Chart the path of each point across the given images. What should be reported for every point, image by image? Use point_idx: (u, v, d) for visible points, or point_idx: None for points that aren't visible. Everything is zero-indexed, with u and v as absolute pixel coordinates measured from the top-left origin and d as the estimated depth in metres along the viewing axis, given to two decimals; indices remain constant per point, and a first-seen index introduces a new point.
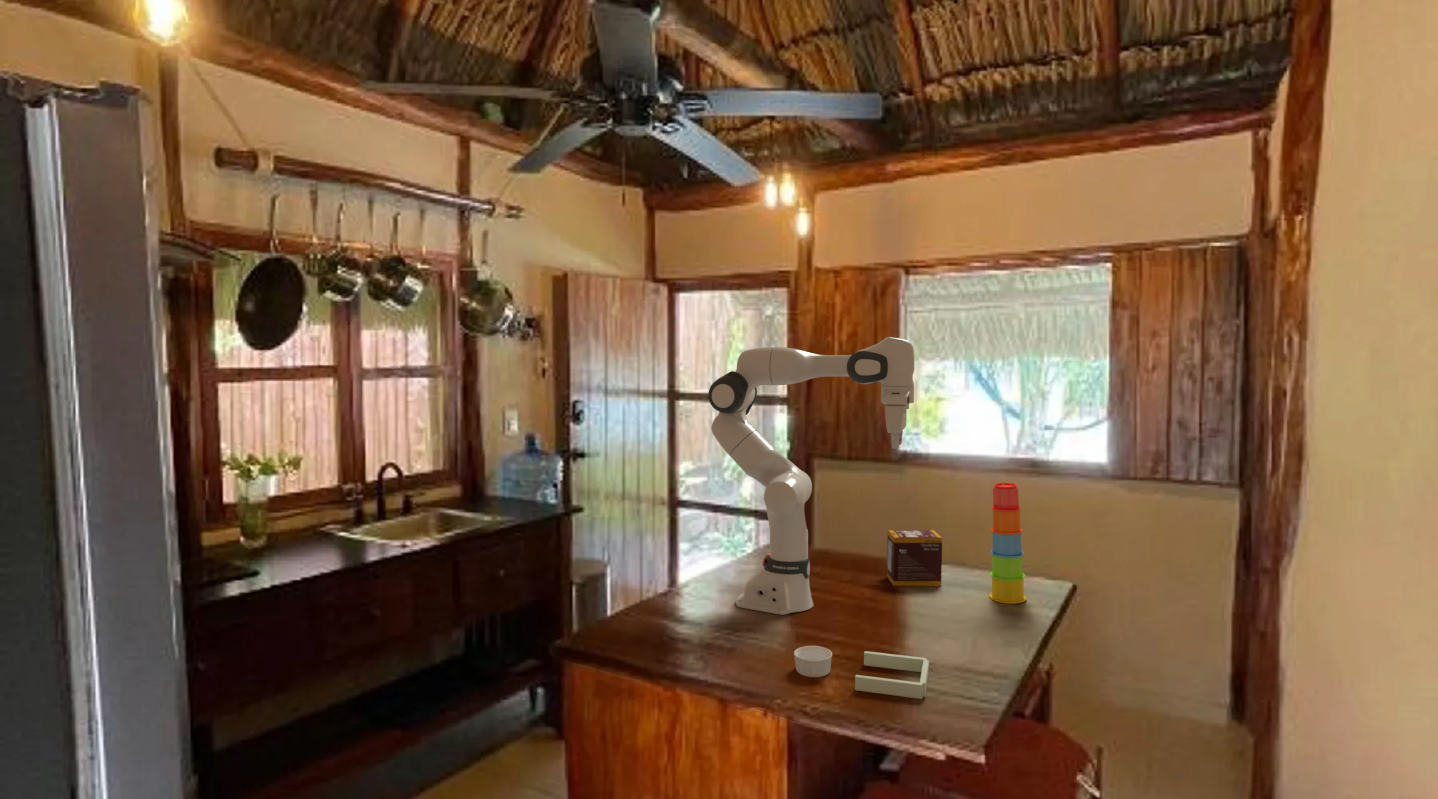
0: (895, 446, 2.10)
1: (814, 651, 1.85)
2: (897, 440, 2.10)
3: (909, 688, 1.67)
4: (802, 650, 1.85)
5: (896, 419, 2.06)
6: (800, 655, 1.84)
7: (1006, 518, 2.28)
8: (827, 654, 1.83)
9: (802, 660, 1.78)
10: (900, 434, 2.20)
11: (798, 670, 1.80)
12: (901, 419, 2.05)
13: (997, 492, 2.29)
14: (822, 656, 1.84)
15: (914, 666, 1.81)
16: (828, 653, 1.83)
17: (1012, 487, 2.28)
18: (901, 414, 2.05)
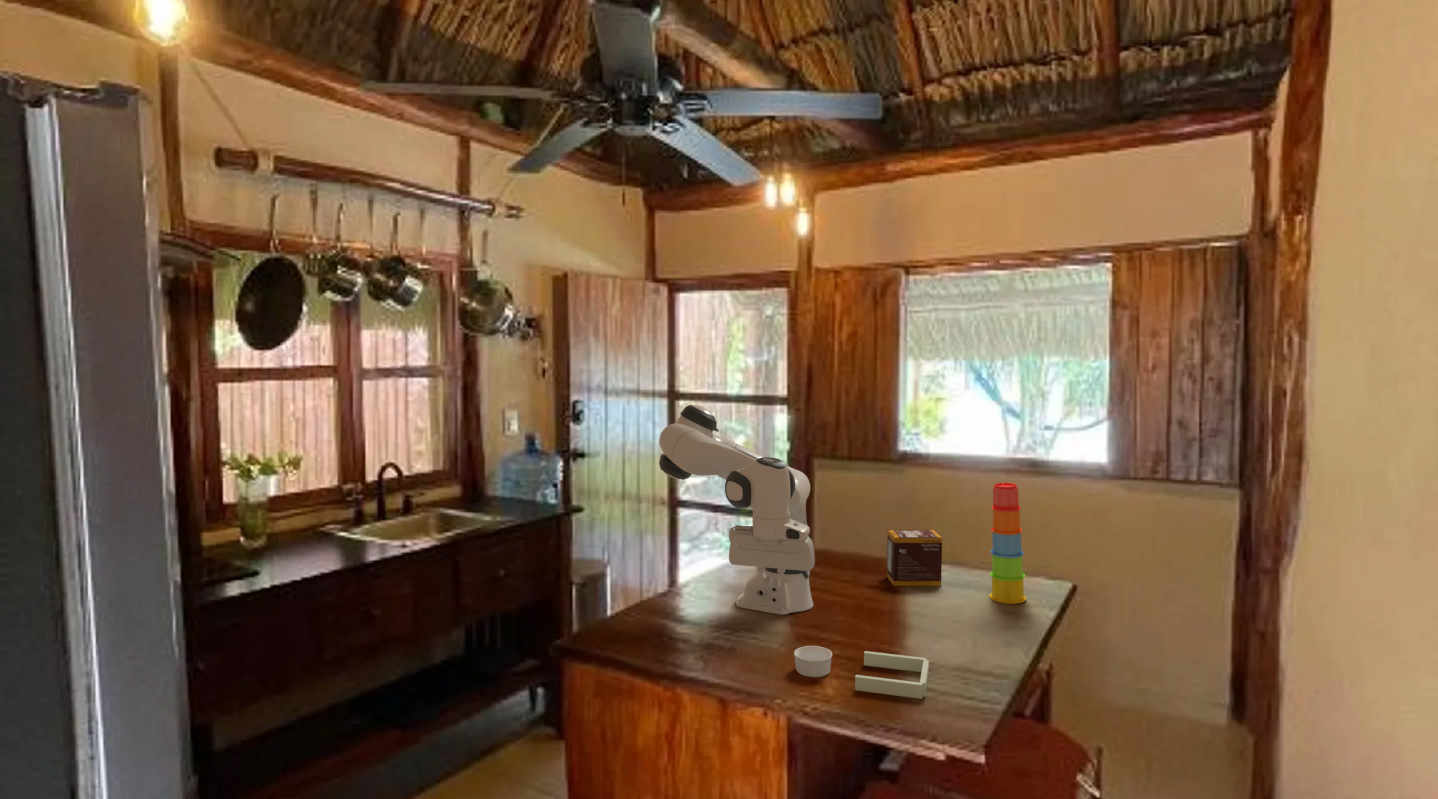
0: (779, 583, 1.83)
1: (814, 651, 1.85)
2: (782, 576, 1.83)
3: (909, 688, 1.67)
4: (802, 650, 1.85)
5: (813, 553, 1.81)
6: (800, 655, 1.84)
7: (1006, 518, 2.28)
8: (827, 654, 1.83)
9: (802, 660, 1.78)
10: (763, 572, 1.85)
11: (798, 670, 1.80)
12: None
13: (997, 492, 2.29)
14: (822, 656, 1.84)
15: (914, 666, 1.81)
16: (828, 653, 1.83)
17: (1012, 487, 2.28)
18: (813, 546, 1.82)
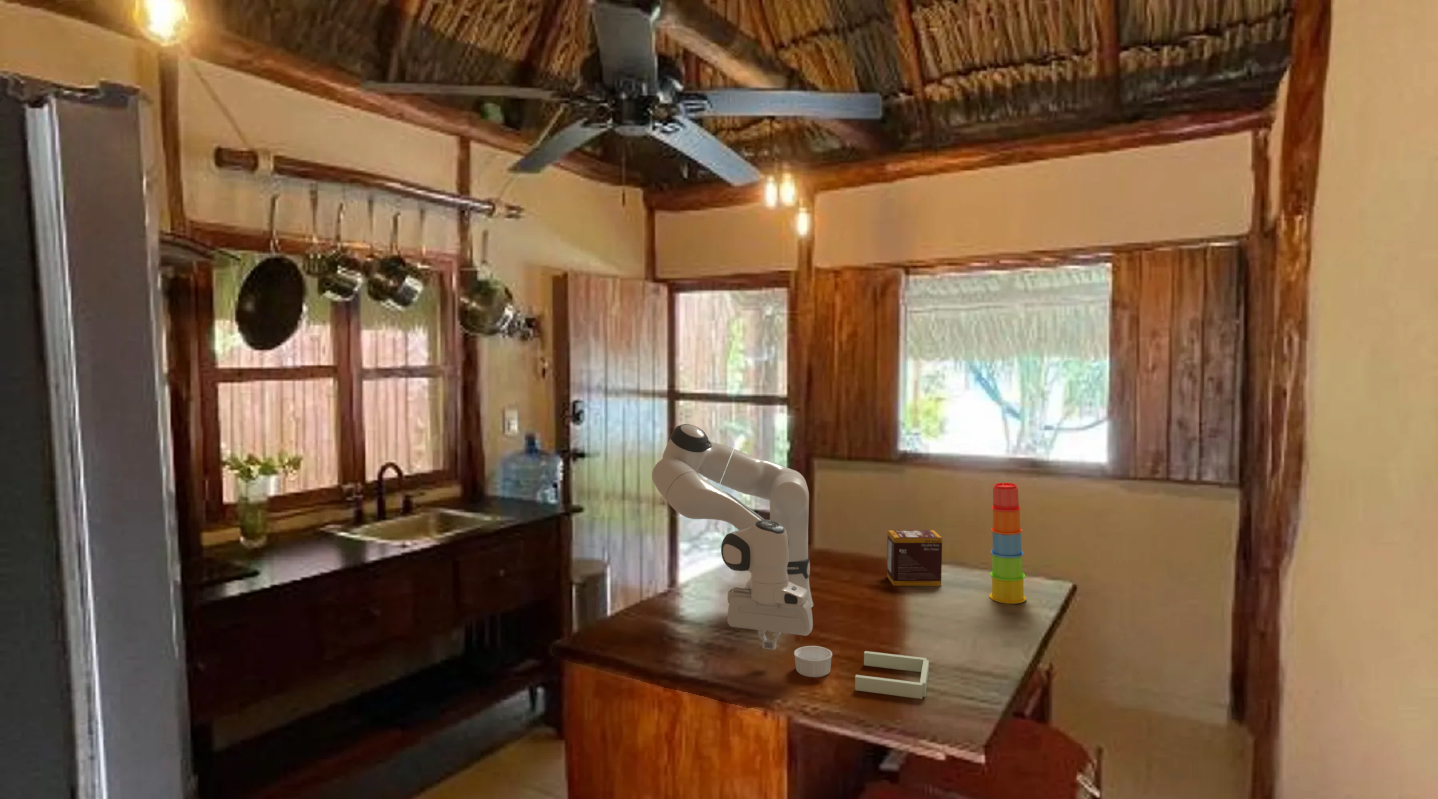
0: (775, 646, 1.84)
1: (814, 651, 1.85)
2: (777, 638, 1.84)
3: (909, 688, 1.67)
4: (802, 650, 1.85)
5: (811, 617, 1.81)
6: (800, 655, 1.84)
7: (1006, 518, 2.28)
8: (827, 654, 1.83)
9: (802, 660, 1.78)
10: (764, 635, 1.85)
11: (798, 670, 1.80)
12: None
13: (997, 492, 2.29)
14: (822, 656, 1.84)
15: (914, 666, 1.81)
16: (828, 653, 1.83)
17: (1012, 487, 2.28)
18: None
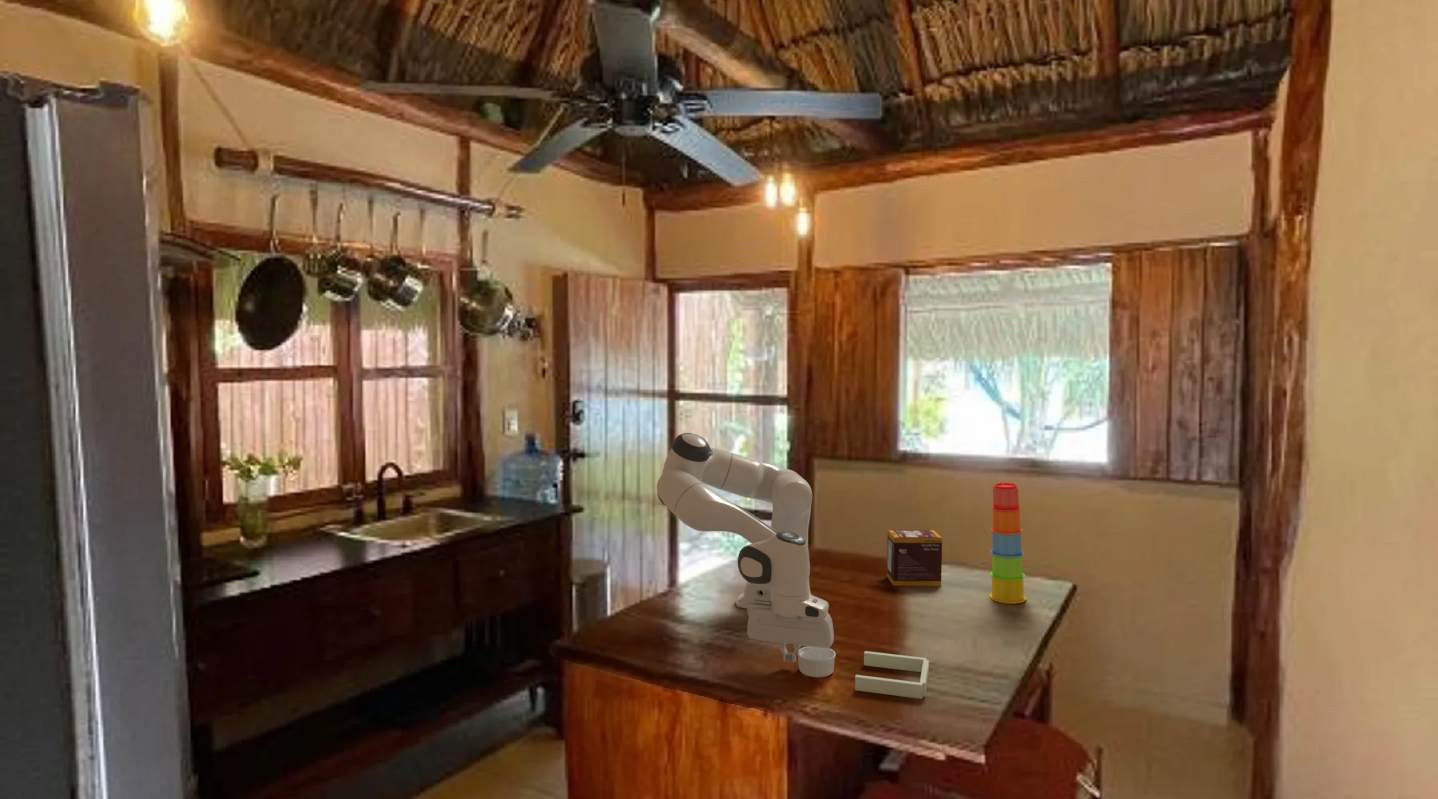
0: (795, 658, 1.83)
1: (817, 651, 1.85)
2: None
3: (909, 688, 1.67)
4: (805, 650, 1.84)
5: (832, 630, 1.80)
6: (803, 655, 1.84)
7: (1006, 518, 2.28)
8: (830, 654, 1.82)
9: (805, 660, 1.78)
10: (785, 647, 1.84)
11: (801, 670, 1.80)
12: None
13: (997, 492, 2.29)
14: (825, 656, 1.84)
15: (914, 666, 1.81)
16: (831, 653, 1.82)
17: (1012, 487, 2.28)
18: None
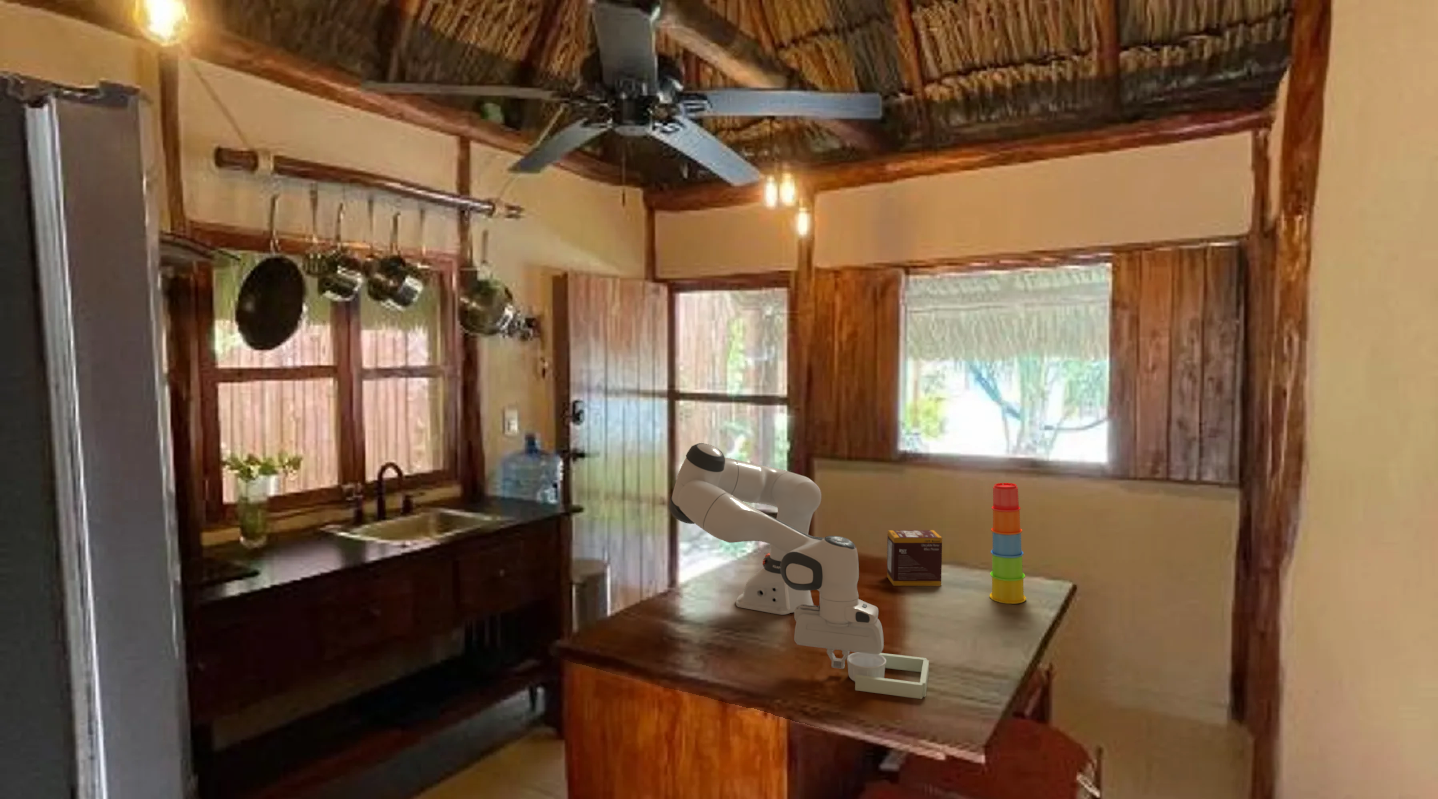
0: (844, 665, 1.79)
1: (866, 657, 1.81)
2: None
3: (909, 688, 1.67)
4: (854, 656, 1.81)
5: (882, 636, 1.76)
6: (852, 661, 1.80)
7: (1006, 518, 2.28)
8: (880, 660, 1.78)
9: (856, 666, 1.74)
10: (833, 653, 1.80)
11: (851, 677, 1.76)
12: None
13: (997, 492, 2.29)
14: (875, 662, 1.80)
15: (914, 666, 1.81)
16: (882, 659, 1.78)
17: (1012, 487, 2.28)
18: None
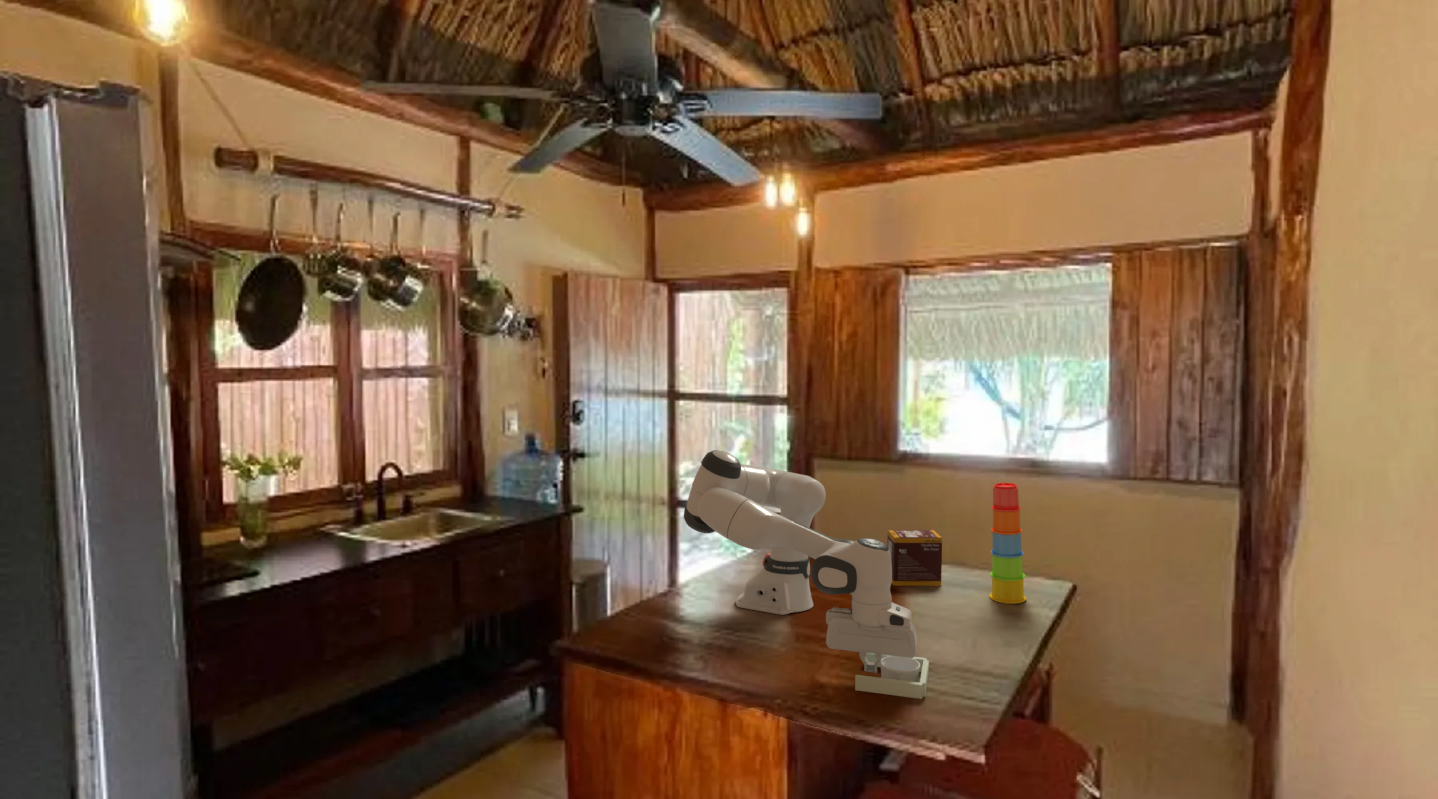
0: None
1: (899, 661, 1.79)
2: None
3: (909, 688, 1.67)
4: (887, 659, 1.78)
5: (916, 639, 1.74)
6: (886, 665, 1.78)
7: (1006, 518, 2.28)
8: (914, 664, 1.76)
9: (889, 670, 1.72)
10: (865, 657, 1.78)
11: None
12: None
13: (997, 492, 2.29)
14: (909, 666, 1.78)
15: None
16: (915, 663, 1.76)
17: (1012, 487, 2.28)
18: (915, 631, 1.76)
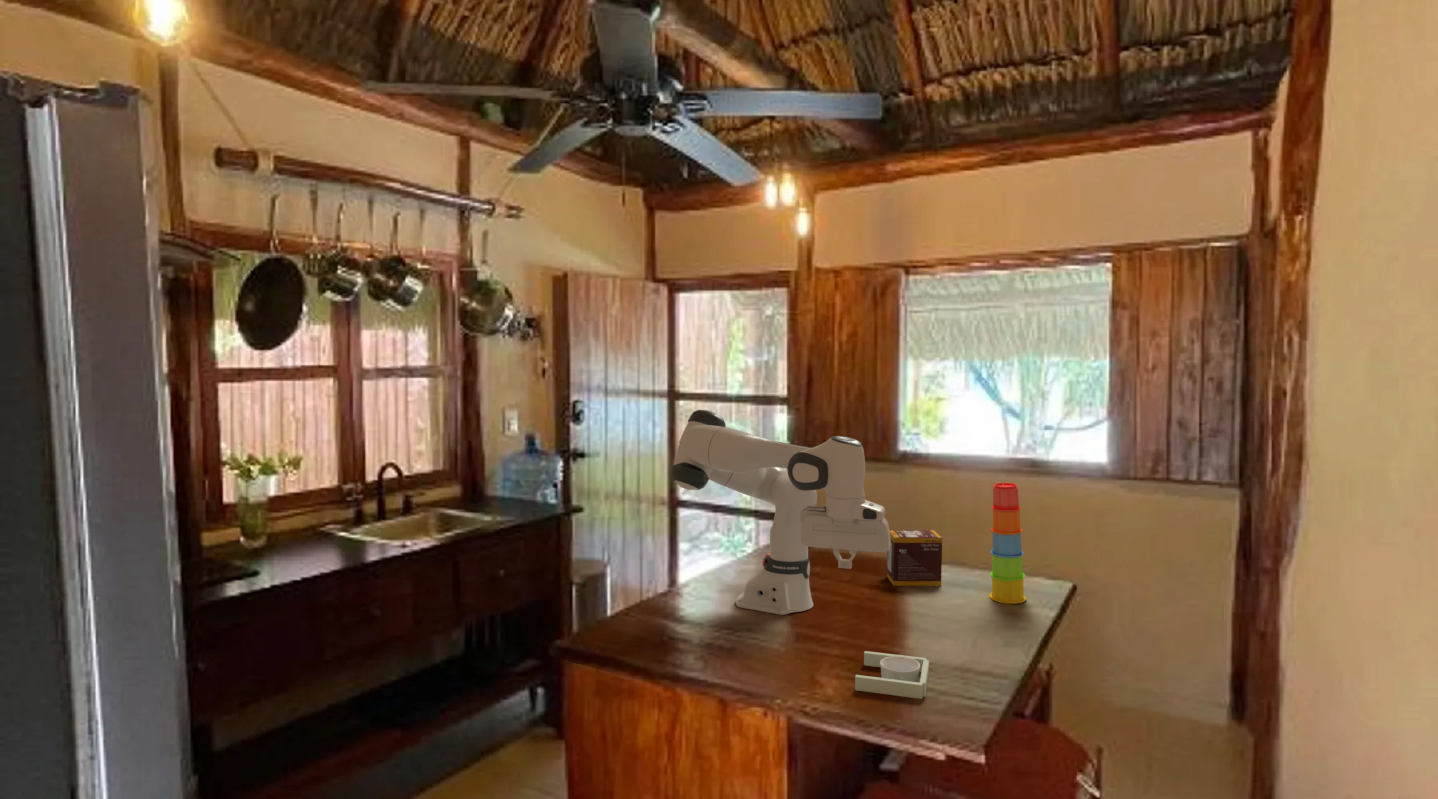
0: (851, 565, 1.79)
1: (900, 662, 1.79)
2: None
3: (909, 688, 1.67)
4: (887, 660, 1.79)
5: (889, 534, 1.76)
6: (886, 665, 1.78)
7: (1006, 518, 2.28)
8: (914, 665, 1.76)
9: (889, 671, 1.72)
10: (839, 554, 1.80)
11: None
12: None
13: (997, 492, 2.29)
14: (909, 667, 1.78)
15: None
16: (915, 664, 1.76)
17: (1012, 487, 2.28)
18: (888, 526, 1.77)
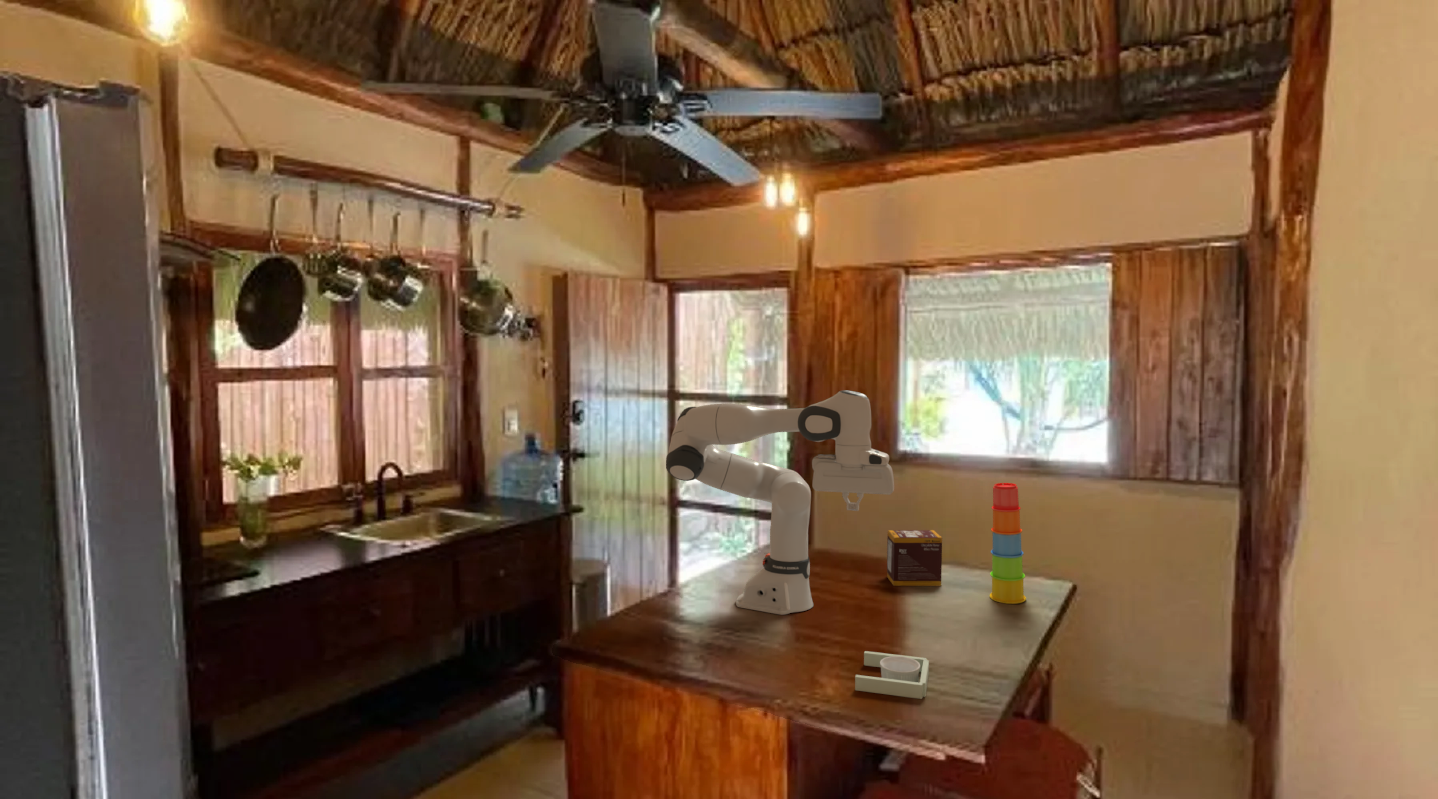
0: (858, 507, 1.96)
1: (900, 662, 1.79)
2: (860, 500, 1.97)
3: (909, 688, 1.67)
4: (887, 660, 1.78)
5: (893, 478, 1.94)
6: (886, 665, 1.78)
7: (1006, 518, 2.28)
8: (914, 665, 1.76)
9: (889, 671, 1.72)
10: (847, 498, 1.97)
11: None
12: None
13: (997, 492, 2.29)
14: (909, 667, 1.78)
15: None
16: (915, 664, 1.76)
17: (1012, 487, 2.28)
18: (892, 472, 1.95)
